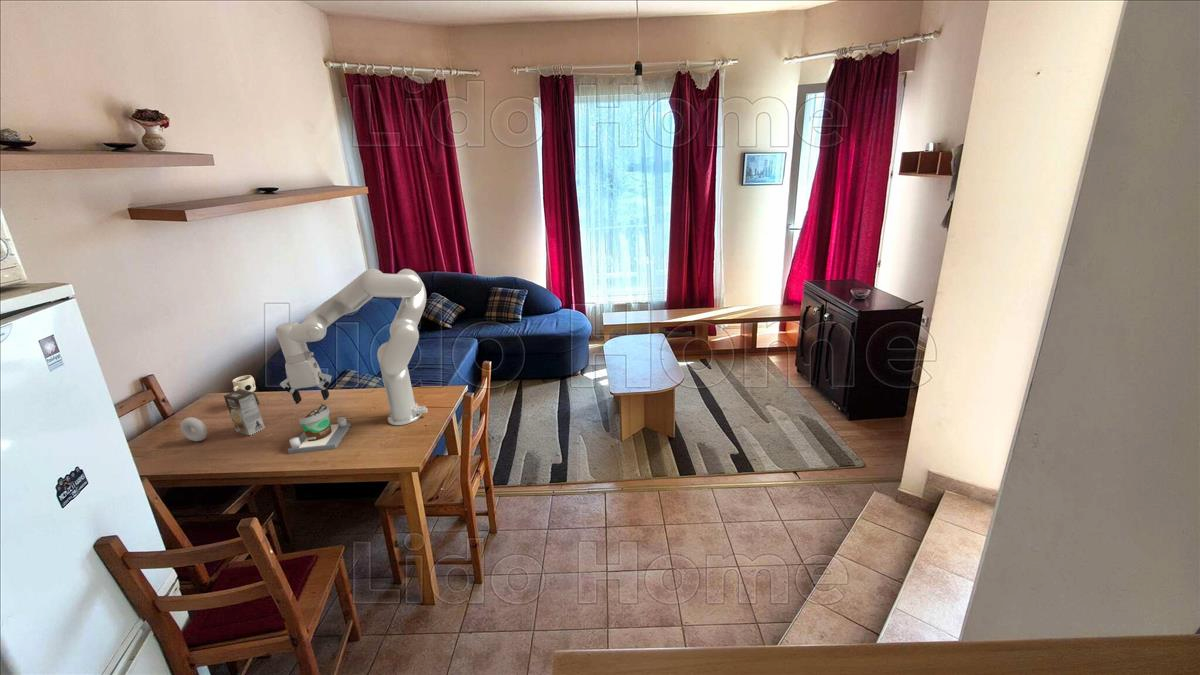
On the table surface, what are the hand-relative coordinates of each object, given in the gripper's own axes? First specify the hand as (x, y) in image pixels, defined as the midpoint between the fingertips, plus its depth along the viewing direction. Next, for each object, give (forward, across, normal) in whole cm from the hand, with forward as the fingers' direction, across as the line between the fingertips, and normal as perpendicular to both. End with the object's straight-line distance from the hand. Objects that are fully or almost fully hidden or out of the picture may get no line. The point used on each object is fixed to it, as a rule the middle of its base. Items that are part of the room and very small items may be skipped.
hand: (312, 400), depth 179 cm
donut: (+14, +50, -10) cm, 53 cm away
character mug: (+15, +45, -38) cm, 61 cm away
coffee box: (+15, +33, -14) cm, 39 cm away
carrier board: (+16, +1, 0) cm, 16 cm away
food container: (+15, 0, 0) cm, 15 cm away
